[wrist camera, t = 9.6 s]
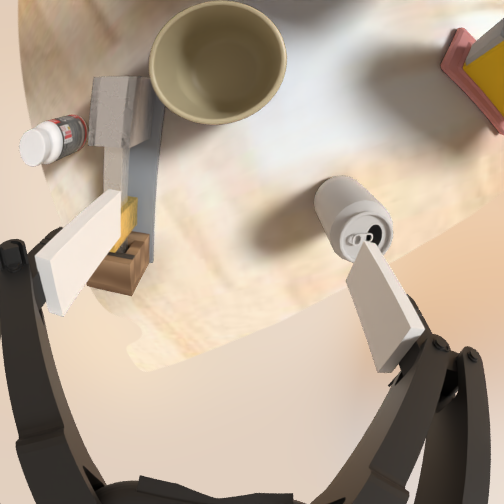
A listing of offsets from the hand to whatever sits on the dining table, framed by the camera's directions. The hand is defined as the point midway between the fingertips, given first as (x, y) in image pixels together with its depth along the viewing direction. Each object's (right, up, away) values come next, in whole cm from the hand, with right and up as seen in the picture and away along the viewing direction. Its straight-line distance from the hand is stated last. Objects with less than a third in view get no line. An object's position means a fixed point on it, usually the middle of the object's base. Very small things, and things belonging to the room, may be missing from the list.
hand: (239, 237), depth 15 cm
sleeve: (-14, +18, +18) cm, 29 cm away
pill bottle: (-25, +16, +19) cm, 35 cm away
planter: (-2, +21, +16) cm, 27 cm away
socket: (-18, +1, +28) cm, 33 cm away
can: (+13, +7, +24) cm, 28 cm away
